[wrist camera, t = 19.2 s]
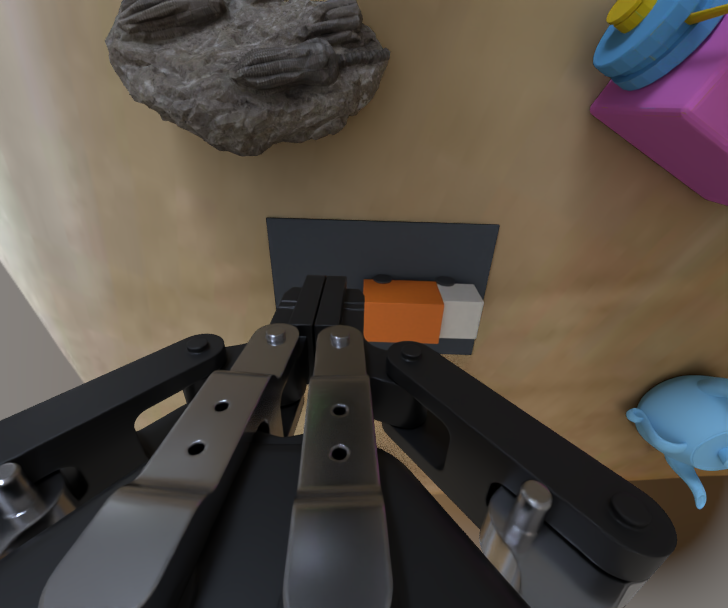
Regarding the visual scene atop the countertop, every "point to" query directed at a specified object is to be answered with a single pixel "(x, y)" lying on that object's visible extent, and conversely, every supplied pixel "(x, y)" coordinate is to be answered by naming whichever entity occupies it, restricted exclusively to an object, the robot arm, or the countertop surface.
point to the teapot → (687, 426)
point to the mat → (382, 256)
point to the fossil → (248, 67)
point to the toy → (670, 86)
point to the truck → (420, 310)
